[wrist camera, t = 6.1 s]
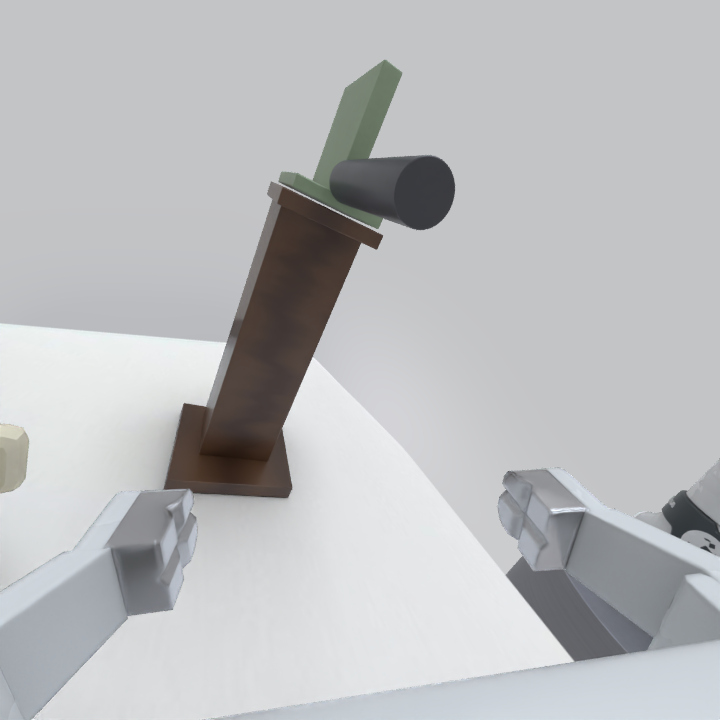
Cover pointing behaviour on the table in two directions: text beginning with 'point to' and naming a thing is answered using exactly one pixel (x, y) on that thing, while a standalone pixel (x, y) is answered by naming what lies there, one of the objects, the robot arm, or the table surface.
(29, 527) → the table surface
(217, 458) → the walnut stand
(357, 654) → the table surface
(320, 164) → the green t-shaped block
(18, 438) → the character mug
